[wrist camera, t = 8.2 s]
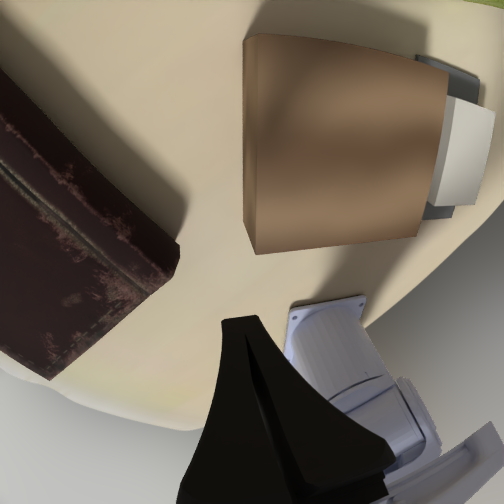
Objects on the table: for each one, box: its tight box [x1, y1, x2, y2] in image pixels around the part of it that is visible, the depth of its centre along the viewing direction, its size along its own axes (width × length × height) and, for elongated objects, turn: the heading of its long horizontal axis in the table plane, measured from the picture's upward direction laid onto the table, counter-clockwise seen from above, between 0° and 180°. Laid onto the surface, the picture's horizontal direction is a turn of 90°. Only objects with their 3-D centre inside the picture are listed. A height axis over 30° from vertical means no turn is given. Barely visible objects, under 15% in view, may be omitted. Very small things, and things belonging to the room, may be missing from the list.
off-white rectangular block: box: [427, 95, 496, 206], centre depth 19 cm, size 9×6×2 cm, turn 0°
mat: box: [416, 55, 480, 220], centre depth 20 cm, size 14×8×1 cm, turn 179°
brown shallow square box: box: [243, 34, 449, 255], centre depth 17 cm, size 12×12×4 cm
